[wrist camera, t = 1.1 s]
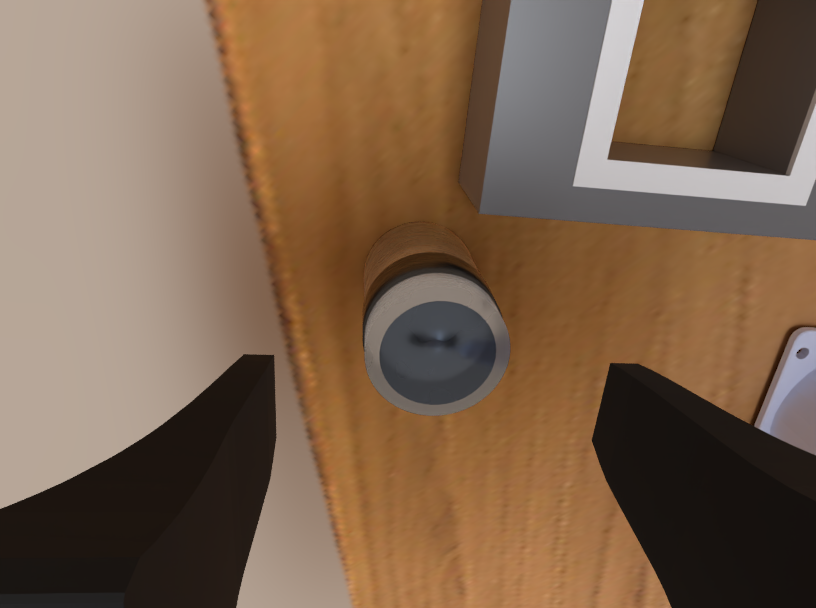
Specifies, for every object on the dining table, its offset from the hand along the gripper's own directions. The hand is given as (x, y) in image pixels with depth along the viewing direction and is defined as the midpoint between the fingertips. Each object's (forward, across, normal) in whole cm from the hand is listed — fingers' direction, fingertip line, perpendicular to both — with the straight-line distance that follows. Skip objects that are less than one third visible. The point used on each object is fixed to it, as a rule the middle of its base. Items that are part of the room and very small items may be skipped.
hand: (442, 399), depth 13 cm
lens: (+10, 0, +1) cm, 10 cm away
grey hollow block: (+9, -8, -7) cm, 14 cm away
